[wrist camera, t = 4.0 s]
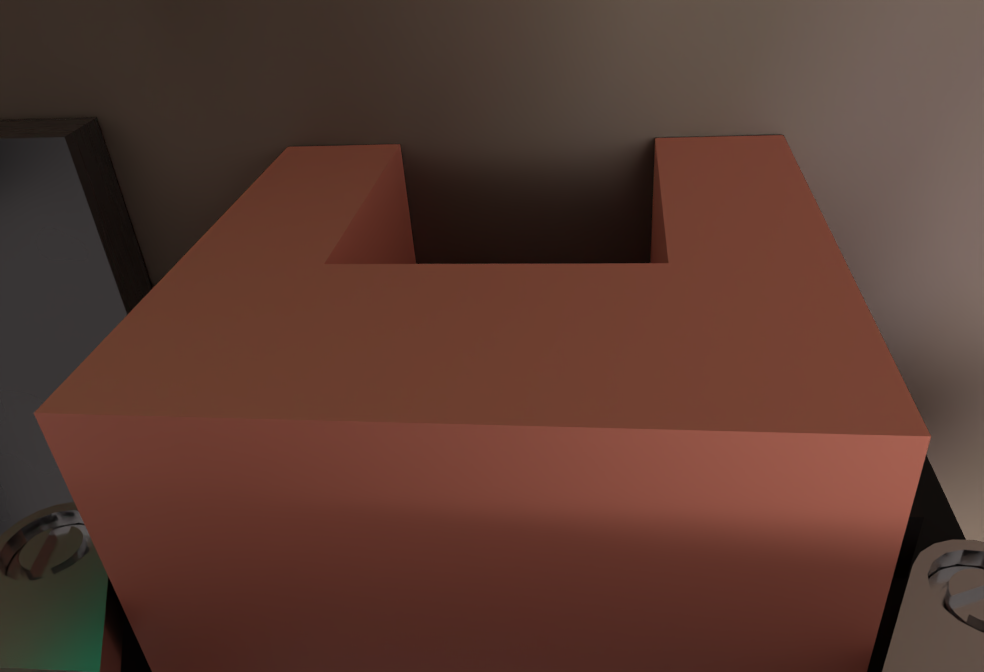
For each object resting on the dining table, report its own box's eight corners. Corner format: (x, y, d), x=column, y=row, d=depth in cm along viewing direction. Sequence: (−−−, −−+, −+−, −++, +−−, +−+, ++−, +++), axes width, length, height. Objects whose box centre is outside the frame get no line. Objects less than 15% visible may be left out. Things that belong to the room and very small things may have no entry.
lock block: (287, 146, 12) (33, 413, 7) (782, 135, 11) (931, 436, 6) (367, 530, 15) (247, 879, 10) (733, 546, 15) (793, 939, 10)
